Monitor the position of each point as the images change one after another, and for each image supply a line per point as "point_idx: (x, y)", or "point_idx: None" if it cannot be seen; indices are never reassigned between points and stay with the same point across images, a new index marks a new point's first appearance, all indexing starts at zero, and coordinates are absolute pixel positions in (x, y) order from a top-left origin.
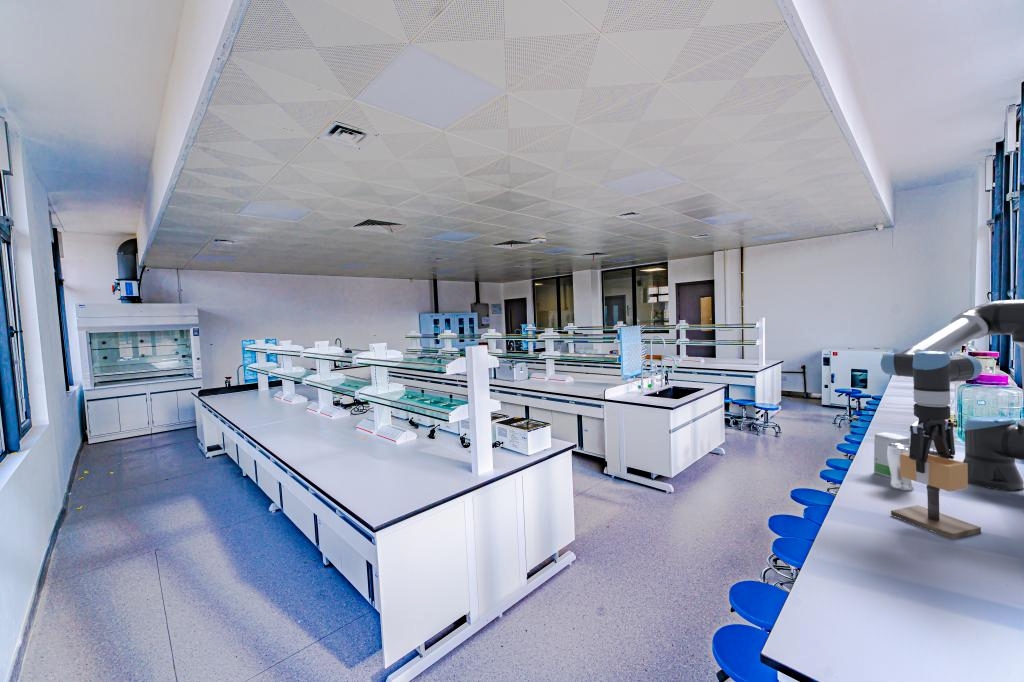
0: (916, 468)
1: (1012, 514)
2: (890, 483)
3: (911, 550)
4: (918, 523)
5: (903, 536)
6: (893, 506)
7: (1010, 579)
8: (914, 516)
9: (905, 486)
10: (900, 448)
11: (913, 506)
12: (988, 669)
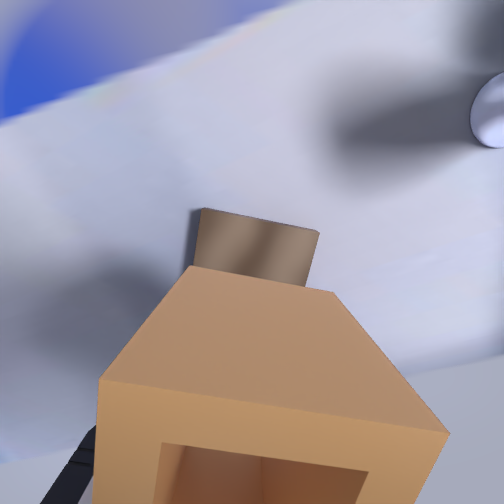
0: (78, 448)
1: (465, 359)
2: (501, 76)
3: (41, 320)
4: None
5: (96, 282)
6: (285, 179)
7: None
8: (216, 263)
9: (492, 132)
10: None
11: (296, 231)
12: None
